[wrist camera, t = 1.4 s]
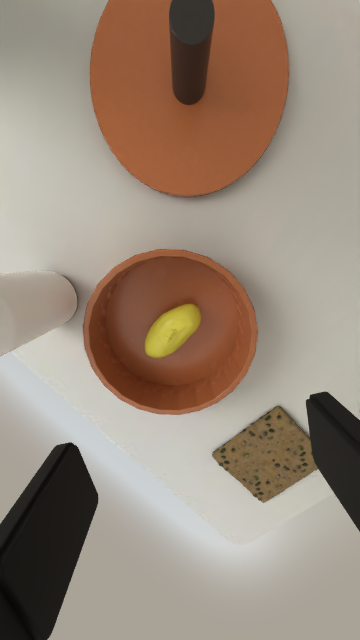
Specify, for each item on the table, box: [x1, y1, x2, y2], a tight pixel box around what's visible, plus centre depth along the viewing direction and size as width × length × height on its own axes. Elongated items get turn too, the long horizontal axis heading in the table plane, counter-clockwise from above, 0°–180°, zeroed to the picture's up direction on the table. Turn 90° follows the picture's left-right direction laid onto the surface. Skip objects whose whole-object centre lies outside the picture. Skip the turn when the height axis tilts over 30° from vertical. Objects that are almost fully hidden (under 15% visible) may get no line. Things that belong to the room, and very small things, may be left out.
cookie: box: [212, 406, 318, 503], centre depth 31 cm, size 12×12×1 cm
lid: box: [90, 0, 289, 197], centre depth 18 cm, size 18×18×7 cm
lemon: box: [145, 304, 201, 358], centre depth 25 cm, size 4×8×4 cm, turn 129°
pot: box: [83, 249, 258, 415], centre depth 25 cm, size 17×17×5 cm
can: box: [0, 271, 77, 356], centre depth 21 cm, size 6×6×12 cm
